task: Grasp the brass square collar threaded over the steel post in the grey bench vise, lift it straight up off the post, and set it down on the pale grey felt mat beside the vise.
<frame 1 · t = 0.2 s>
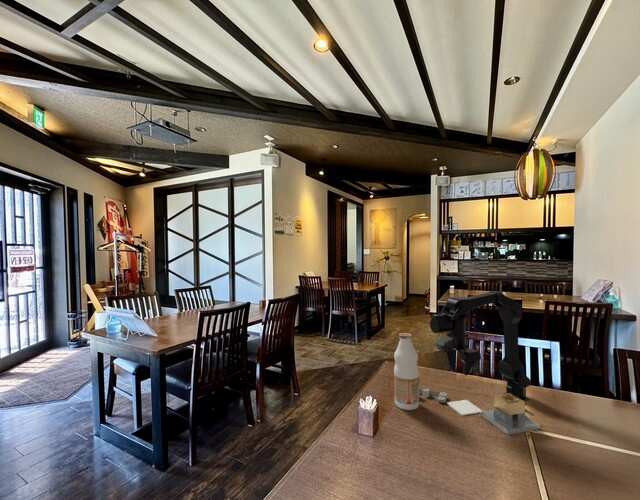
hand: (458, 370, 119), 14 cm above the table, fingers open, 9 cm apart
pulley system: (416, 391, 134), on the table
brass collar: (509, 409, 109), point 4 cm above the table, touching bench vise
felt mat: (464, 408, 118), on the table
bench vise: (509, 421, 109), on the table
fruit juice: (406, 405, 122), on the table
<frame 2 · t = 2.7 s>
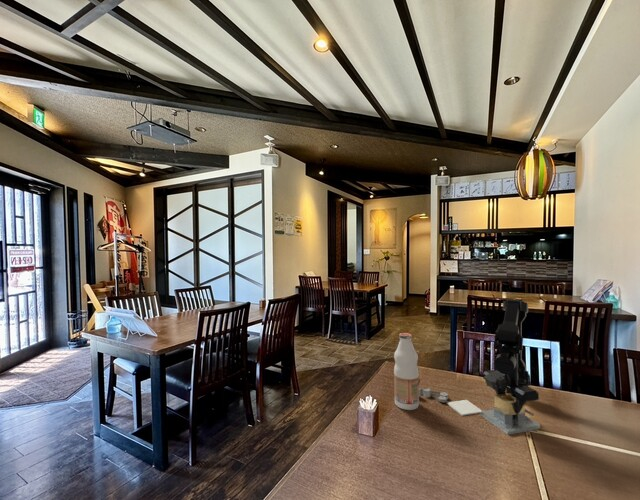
hand: (509, 408, 109), 5 cm above the table, fingers closed on brass collar, 6 cm apart
brass collar: (509, 409, 109), point 4 cm above the table, touching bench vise, gripper
everything else where it was.
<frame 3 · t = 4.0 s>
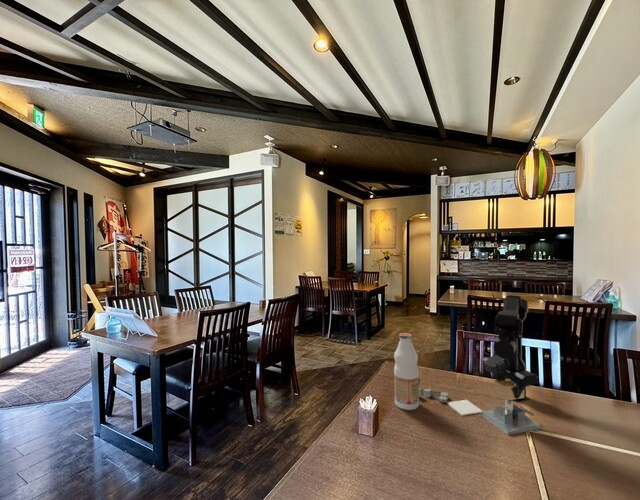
hand: (508, 393, 108), 10 cm above the table, fingers closed on brass collar, 6 cm apart
brass collar: (508, 394, 108), point 10 cm above the table, touching gripper
everything else where it was.
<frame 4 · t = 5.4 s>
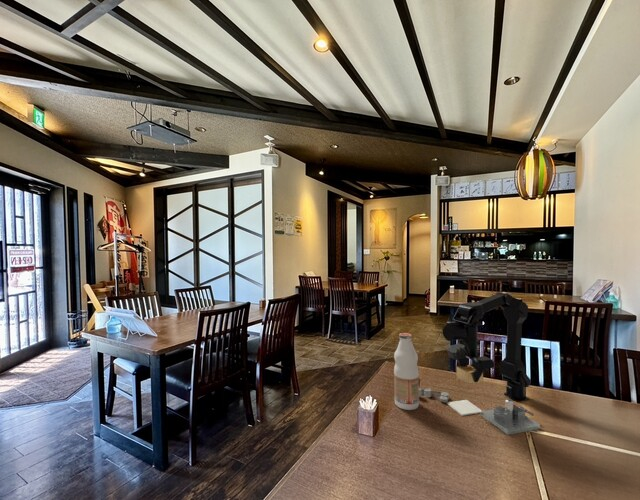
hand: (469, 378, 117), 12 cm above the table, fingers closed on brass collar, 6 cm apart
brass collar: (469, 379, 117), point 12 cm above the table, touching gripper
everything else where it was.
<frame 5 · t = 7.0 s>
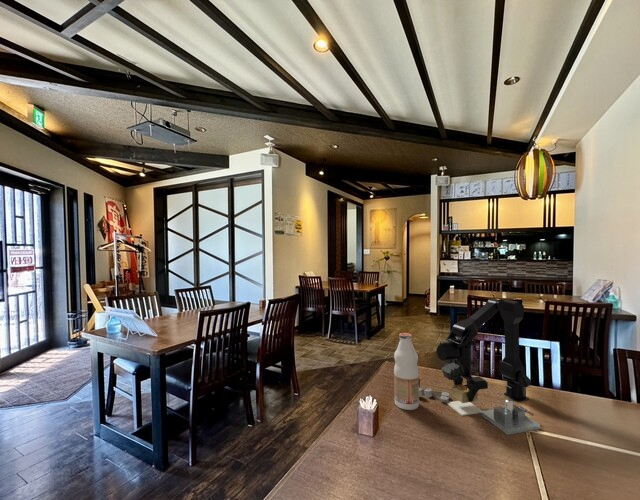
hand: (464, 397, 118), 4 cm above the table, fingers closed on brass collar, 6 cm apart
brass collar: (464, 398, 118), point 4 cm above the table, touching gripper
everything else where it was.
when the fingers open (2 cm above the table, at t = 8.3 s): brass collar drops 1 cm, resting on felt mat.
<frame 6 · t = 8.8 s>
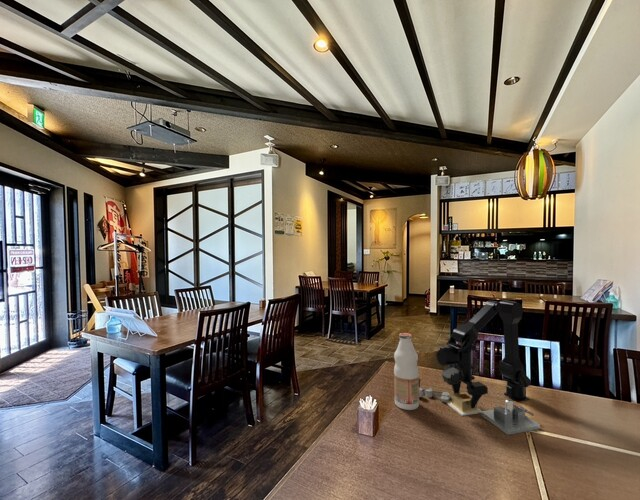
hand: (464, 402, 118), 2 cm above the table, fingers open, 9 cm apart
brass collar: (464, 406, 118), resting on felt mat
everything else where it was.
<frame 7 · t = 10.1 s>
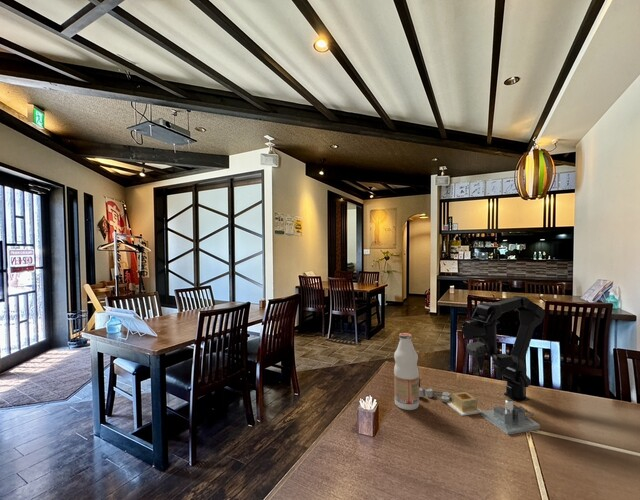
hand: (489, 374, 121), 12 cm above the table, fingers open, 9 cm apart
nothing on the table moved.
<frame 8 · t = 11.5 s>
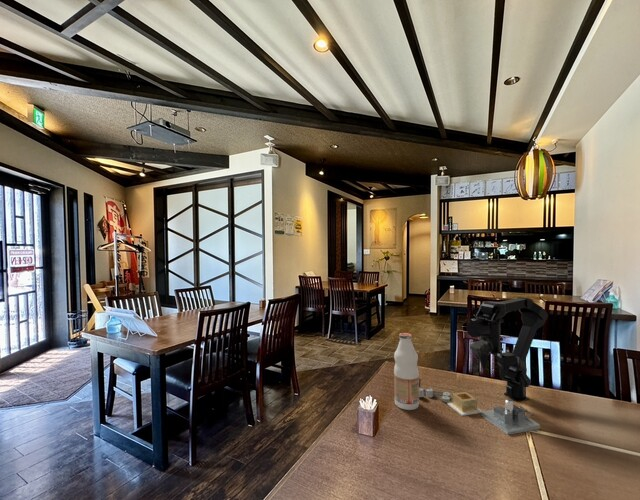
hand: (492, 373, 121), 12 cm above the table, fingers open, 9 cm apart
at the end: brass collar 0.0 cm off-centre on the felt mat, point 0.5 cm above the felt mat's base; brass collar tilted 0°; the gripper is holding nothing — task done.
